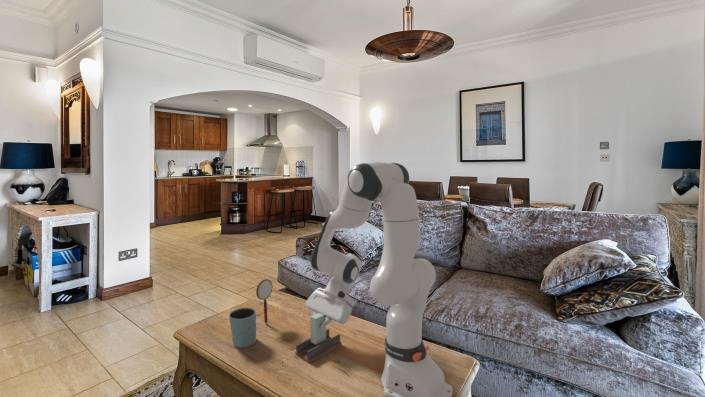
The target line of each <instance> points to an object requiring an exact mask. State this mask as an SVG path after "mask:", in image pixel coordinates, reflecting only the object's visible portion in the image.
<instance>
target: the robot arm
mask: <svg viewBox="0 0 705 397" xmlns="http://www.w3.org/2000/svg"><path fill="white" fill-rule="evenodd" d="M409 183H410V174H409V170H408V168H406V167H405V166H404V165H402V164H401V163H398V162H381V161H374V162H367V163H365V162H364V163H359V164H356V165H355V166H353V167H351V168H350V169H349V171H348V175H347V179H346V181H345V183H344V186H343V189H342V192H341V196H340V199H339V203H338V205H337V208H336V209H333V210H331V211H330V212H329V214H328V215H327V216H326V218H325V221H324V223H323V226H322V229H321V231H320V233H319V237H318V239H317V242H316V243H315V247H314V248H313V250H312V251H311V254H310V256H309V263H310V265H311V268H312V269H313V270H315V271H318V272H320V273H323V274H324V275H327V276H329V277H331V279H330V280H329V281H328V283H327V284H326V287H325V288H322V287H318V288H316V289H314V291H313V292H312V293H311V295H310V296H309V297H308V298H307V300H306V302H305V305H304V306H305V308H307V309H308V310H310V311H312V312H313V313H312V315H314V314H317V313H321V314H323V315H325V316H326V318H325V319H326V320H325V321H324V322H323V323H320V325H319V328H321V329H322V330H324V328H325V327H326V328H327V326H328V325H329V324H331V322H332V321H333V322H337V323H338V324H340V325H345V324H346V323H348V320H349V319H350V316H351V314H352V312H353V307H354V306H355V305H356V302H355V301H354V299H352V297H351V296H350V295H349V293H350V291H351V288H352V286H353V285H354V284H355V282H356V281H357V279H358V276H359V274H360V271H361V269H362V266H363V262H362V260H361V259H360V258H359V257H358V256H357V255H355V254H352V253H348V254H345V253H343V252H341V251H338V250H337V249H334V248H332V247H331V242H332V239H333V237H334V235H335V232H336V230H338V229H339V230H341V229H342V230H343V229H344V230H348V229H349V230H351V229H356V228H359V227H362V226H363V225H364V224H365V223H366V222H367V221H368V218H369V215H370V213H371V209H372V204H373V202H374V201H375V200H378V202H380V205H381V210H382V225H383V226H382V228H383V231H382V232H383V245H382V246H383V247H382V248H383V249H382V254H381V257H380V261H379V264H378V267H377V270H376V272H375V274H373V276H372V278H371V280H370V284H369V290H370V294H371V297H372V298H373V300H374V301H375V302H376V303H377V304H378V305H379V306H382V307H389V309H388V311H387V314H386V317H385V318H386V326H385V327H386V328H385V329H386V330H385V331H386V336H385V338H384V352H385V360H384V366H383V371H382V373H381V374H382V375H381V378H380V380H381V382H380V383H381V384H382V387H383V394H384V396H385V397H453V395H454V390H453V389H454V388H453V386H452V385H450V384H449V383H447V382H446V379H445V374H444V371H443V370H442V368H441V367H440V366H439V365H437V363H436V362H435V361H434V360H433V359H432V358H431V356H429V354H428V353H427V351H429V350H430V345H426V346H425V343H424V340H423V339H422V336H423V335H422V334H423V333H422V332H423V331H422V330H423V318H424V317H423V316H424V313H425V308H426V304H427V301H428V296H429V293H430V291H431V288H432V287H433V284H434V283H435V281H436V279H437V272H436V271H437V270H436V269H435V267H434V265H433V263H432V262H431V261H429V260H428V259H427V258H426V259H425V258H415V255H416V253H417V251H418V249H420V248H419V247H420V245H421V230H420V229H421V228H420V227H421V226H420V210H419V205H418V204H419V203H418V200H417V195H416V191H415V188H414V187H413V186H412V185H410V184H409Z"/></svg>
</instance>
